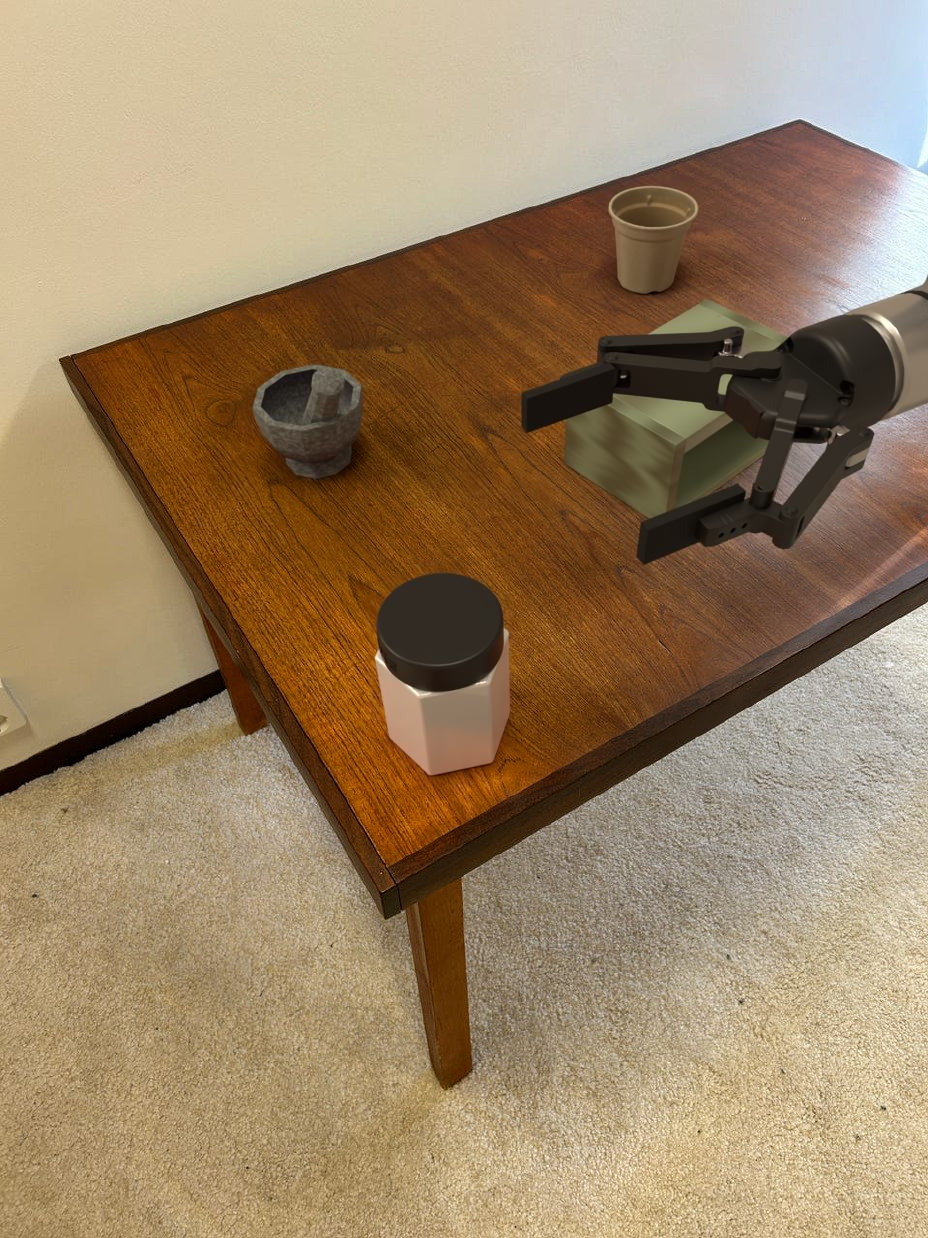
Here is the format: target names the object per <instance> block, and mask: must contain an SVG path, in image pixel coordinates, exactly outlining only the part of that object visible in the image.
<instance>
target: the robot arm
mask: <svg viewBox="0 0 928 1238" xmlns="http://www.w3.org/2000/svg"><path fill="white" fill-rule="evenodd" d="M743 337H744V329H743V328H741V327H738V326H731V327H727V328H723V329H719V330H715V331H711V332H697V333H671V334H649V333H646V334H621V335H618V334H617V335H603V336H601V337H599V338H598V340H597V352H596V353H597V355H596V362H595V363H592V364H589V365H586V366H583V367H580V368H578V369H574V370H572V371H569V372H565V373H564V374H563V375H561V376H560V377H559V379H557V380H554V381H551V382H548V383H545V384H543V385H539V386H537V387H534V388H531V389H528V390H525V391H522V392H520V393H521V394H520V395H521V406H520V407H521V416H520V417H521V420H520V421H521V425H520V426H521V429H523V431H524V432H525V433H526V434H529V433H532V432H534V431H537V430H540V429H543V428H546V427H549V426H551V425H554V424H558V423H559V422H563V421H566V419H569V418H571V417H574V416H577V415H580V414H583V413H585V412H588V411H591V410H594V409H597V408H600V407H602V406H605V405H608V404H611V403H612V402H613V394H623V395H632V396H641V397H650V398H659V399H669V400H678V401H687V402H696V403H702V404H703V405H704V407H705V408H706V409H707V410H712V411H721V412H725V413H726V414H727V415H728V416H729V417H730V418H731V419H733V420H735V421H736V422H738V423H740V424H742V425H743V427H744V428H745V430H746V431H747V433H748V434H750V435H751V436H752V437H753V438H754V439H756V438H761V439H764V440H768V441H769V443H768V445H767V448H766V451H765V454H764V456H762V459H761V463H760V466H759V469H758V472H757V474H756V477H755V480H754V482H752V487H751V490H750V495H749V496H748V497H747V498H746V493H747V491H746V490H745V488H744V487H742V486H741V485H740V484H739V483H736V484H733V485H731V486H728V487H726V488H724V489H721V490H718V491H715V492H713V493H711V494H710V495H708V496H705V497H703V498H700V499H698V500H695V501H693V502H690V503H688V504H685V505H683V506H680V507H678V508H675V509H673V510H670V511H668V512H665V513H663V514H660V515H657V516H655V517H652V518H650V519H649V518H647V519H645V520H643V521H640V525H639V532H638V539H637V549H636V556H635V557H636V558H637V559H638V561H639V562H640V563H641V564H642V565H643V566H645V565H647V564H650V563H652V562H654V561H657V560H659V559H662V558H665V557H666V556H670V555H672V554H674V553H676V552H679V551H681V550H684V549H686V548H688V547H689V548H690V547H691V546H694V545H697V544H699V543H700V544H701V545H702V546H703V547H704V548H712V547H716V546H719V545H722V544H723V543H726V542H728V541H731V540H733V539H736V538H737V537H740V536H743V535H745V534H748V533H750V534H753V535H757V534H760V533H762V534H764V535H767V536H769V538H772V540H771V542H772V544H773V546H774V547H776V548H778V549H781V550H788V549H791V548H792V547H793V546H794V545H795V543H796V542H797V541H798V539H799V538H800V536H802V534H803V533H804V532H805V530H806V529H807V527H808V526H810V525H809V524H810V523H811V522H812V521H813V519H814V518H815V517H816V515H817V514H818V513H819V512H820V510H821V508H822V507H823V506H824V504H825V503H826V501H828V499H829V498H830V497H831V495H832V494H833V492H834V491H835V489H836V488H837V487H838V486H839V484H840V483H841V481H843V480H844V479H846V478H847V477H850V476H852V475H853V474H855V473H857V472H859V471H861V470H862V469H863V468H864V466H865V463H866V460H867V457H868V454H869V452H870V449H871V446H872V443H873V440H874V437H875V432H874V430H873V429H871V428H870V427H872V426H875V425H876V424H877V423H879V422H882V421H886V420H889V419H891V418H893V417H896V416H898V415H901V414H904V413H907V412H909V411H912V410H913V409H916V408H918V407H921V406H925V405H927V404H928V274H927V275H926V279H925V280H924V282H923V284H920V285H917V286H915V287H913V288H911V289H908V290H906V291H902V292H900V293H897V294H894V295H892V296H889V297H887V298H883V299H880V300H877V301H874V302H871V303H868V304H865V305H862V306H859V307H856V308H853V309H851V310H849V311H847V312H845V313H843V314H839V315H835V316H832V317H830V318H826V319H824V320H821V321H818V322H816V323H815V322H814V323H813V324H810V325H806V326H804V327H801V328H799V329H797V330H796V331H794V332H792V333H791V334H790V335H789V336H787V337H788V338H787V339H786V340H785V341H784V342H783V343H782V344H780V345H779V346H778V347H777V348H776V349H774V350H770V351H754V352H752V351H751V350H750V349H749V348H748V347H747V346H746V345H745V344H744V343H743ZM724 374H729V375H732V377H731V379H730V380H729V382H728V385H727V389H726V394H725V395H723V394H719V393H718V389H719V384H720V378H721V376H722V375H724ZM621 376H626V377H625V378H621ZM797 443H798V444H808V445H809V444H811V445H822V444H823V445H824V444H826V446H825V450H824V451H823V452H822V453H821V455H820V456H819V457H818V459H817V460H816V462H815V463H814V464H813V465H812V467H811V468H810V469H809V471H808V472H807V473H806V474H805V476H804V477H803V478H802V480H801V481H800V482H799V483H798V484H797V486H796V487H795V488H794V490H793V491H792V492H791V494H790V495H789V496H788V497H787V499H786V500H785V501H784V502H783V504H782V503H779V502H777V501H775V497H776V495H777V491H778V488H779V485H780V482H781V479H782V476H783V473H784V469H785V467H786V465H787V461H788V458H789V456H790V452H791V449H792V446H793V445H794V444H797Z"/></svg>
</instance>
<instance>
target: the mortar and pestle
mask: <svg viewBox="0 0 928 1238" xmlns="http://www.w3.org/2000/svg"><path fill="white" fill-rule="evenodd" d="M253 401H254V402H253V404H252V411H253V415H254V420H255V422H256V425H257V426H258V428H259V430H260V433H261V434H262V436H264V438H265V439H266V440H267V441H268V442H269V443H270V444H271V445H272V446H273V447H274V448H275V449H276V450H277V452H279V454H281V456H283V457H284V458H285V462H286V465H287V466H288V468H289V469H290V470H291V471H292V472H293V473H294V474H295V475H296V476H299V477H303V478H310V479H314V480H316V479H321V478H326V477H329V476H334V475H337V474H338V473H340V472H341V471H342V470H343V469H344V468H346V467H347V466H348V465H349V464H351V458H352V452H353V448H352V445H353V444H354V443H356V440H357V439H358V436H359V434H360V432H361V426H362V418H363V412H364V410H363V408H364V393H363V386H362V384H361V383H360V382H359V381H358V380H357V379H356V378H355V377H353V376H352V375H351V374H350V373H349V372H347V371H346V370H345V369H343V368H338V367H332V366H325V365H320V364H310V365H304V366H300V367H295V368H291V369H285V370H281V371H280V372H278V373H276V374H275V375H274V376H272V377H271V378H269V379H268V380H267V381H266V382H264V383H263V384H261V385H259V386H258V387H257V390H256V394H255V398H254V400H253Z"/></svg>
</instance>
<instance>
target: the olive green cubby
mask: <svg viewBox="0 0 928 1238" xmlns="http://www.w3.org/2000/svg"><path fill="white" fill-rule="evenodd" d="M731 326H738V327H741V328H743V329H744V337H743V343H744V344H745V345H746V346H747V347H748V348H749V349H750V350H751V351H752V352H754V351H770V350H774V349H776V348H777V347H778V346H779V345H780V344H782V343H783V342H784V341H785V340H786V339H787V338H788V337H789V336H787V335H784V334H782V333H780V332H779V331H776V330H774V329H772V328H770V327H768V326H766V325H763V324H761V323H759V322H757V321H755V320H753V319H751V318H749V317H747V316H745V315H742V314H740V313H738V312H736V311H734V310H732V309H729V308H728V307H725V306H723V305H722V304H719V303H718V302H715V301H713V300H711V299H708V298H706V299H704V300H702V301H700V302H699V303H698V304H695V306H692V307H691V308H689V309H687V310H686V311H684V312H682V313H681V314H679V315H678V316H675V317H674V318H672V319H671V320H669V321H666V323H664V324H662V325H660V326H659V327H657V328H655V329H653V330H652V331H651V332H649V333H648V334H671V333H697V332H711V331H715V330H719V329H723V328H727V327H731ZM625 377H626V376H621V378H625ZM731 377H732V375H729V374H724V375H722V376H721V378H720V384H719V389H718V393H719V394H723V395H725V394H726V389H727V385H728V382H729V380H730V379H731ZM564 431H565V432H564V434H565V435H564V454H563V455H564V456H563V464H564V465H566V466H567V467H569V468H571V469H572V470H573V471H575V472H577V473H578V474H580V475H581V476H582V477H584V478H586V479H587V480H589V481H590V482H592V483H593V484H594V485H597V486H598V487H599V488H601V489H602V490H604V491H606V492H607V493H609V494H610V495H612V496H613V497H615V498H616V499H618V500H619V501H621V502H623V503H624V504H626V505H627V506H629V507H630V508H632V509H634V510H635V511H637V512H638V513H640V514H642V516H644V517H646V518H647V519H650V518H652V517H655V516H657V515H660V514H663V513H665V512H668V511H670V510H673V509H675V508H678V507H680V506H683V505H685V504H688V503H690V502H693V501H695V500H698V499H700V498H703V497H705V496H708V495H710V494H713V493H715V492H716V491H717V490H719V488H721V487H723V486H724V485H725V484H727V483H729V481H731V480H732V479H734V478H735V477H736V476H738V475H739V474H740V473H742V472H743V471H745V470H746V469H747V468H748V467H750V466H752V465H753V464H755V463H756V462H758V461H759V460H760V459H761V458H763V457H764V454H765V451H766V448H767V445H768V443H769V441H768V440H764V439H761V438H756V439H754V438H753V437H752V436H751V435H750V434H748V433H747V431H746V430H745V428H744V427H743V425H742V424H740V423H738V422H736V421H735V420H733V419H731V418H730V417H729V416H728V415H727V414H726V413H725V412H721V411H712V410H707V409H706V408H705V407H704V405H703V404H702V403H696V402H687V401H678V400H669V399H659V398H650V397H641V396H632V395H623V394H613V402H612V403H611V404H608V405H605V406H602V407H600V408H597V409H594V410H591V411H588V412H585V413H583V414H580V415H577V416H574V417H571V418H569V419H566V420H565V430H564Z"/></svg>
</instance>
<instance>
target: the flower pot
mask: <svg viewBox="0 0 928 1238" xmlns="http://www.w3.org/2000/svg"><path fill="white" fill-rule="evenodd" d="M608 213H609V215H610V217H611V222H612V225H613V227H614V233H615V234H614V235H615V249H616V250H615V251H616V266H617V268H616V269H617V270H616V271H617V279H618V281H619V283H620V286H621V287H623V288H624V289H625V290H626V291H629V292H633V293H635V294H642V295H648V294H649V293H652V292H657V293H661V292H664V291H665V290H668V288H670V287H671V286H672V284H673V283H674V280H675V275H676V272H677V268H678V264H679V261H680V258H681V254H682V251H683V248H684V247H683V246H684V243H685V240H686V237H687V233H688V231H689V230H690V228H691V227H692V223H693V221H694V220H695V219H696V218H697V216H698V213H699V204H698V202H697V201H696V200H695V198H694V197H692V196H691V195H690V194H688V193H686V192H684V191H682V190H679V189H676V188H673V187H667V186H660V185H645V186H644V185H643V186H636V187H632V188H628V189H625V190H622V191H620V192H618V193H617V194H615V195H614V196H613V197H612V199H610V201H609V203H608Z"/></svg>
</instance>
